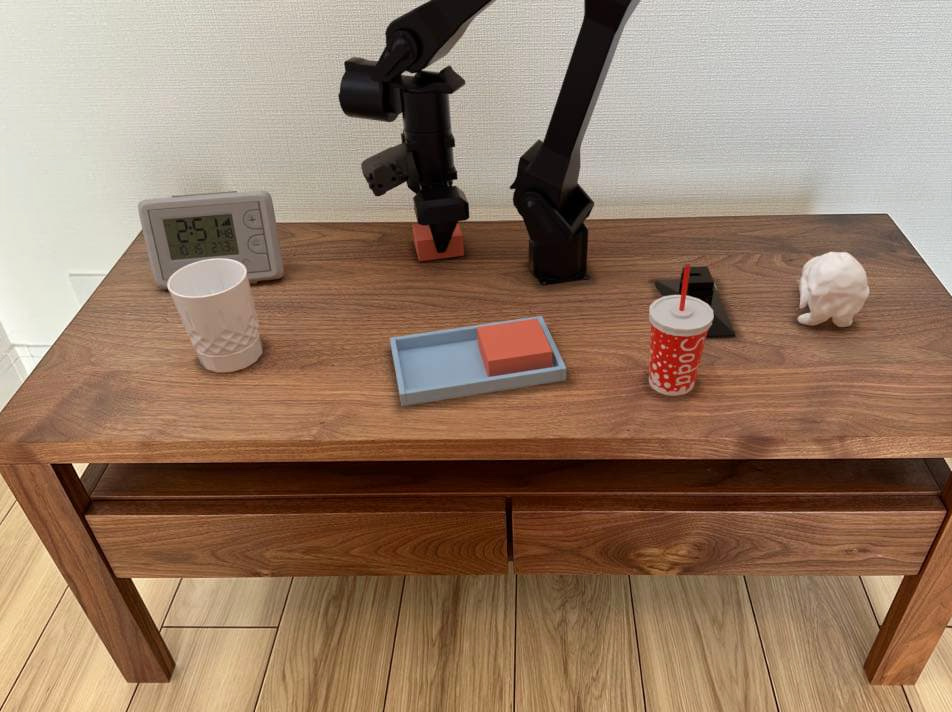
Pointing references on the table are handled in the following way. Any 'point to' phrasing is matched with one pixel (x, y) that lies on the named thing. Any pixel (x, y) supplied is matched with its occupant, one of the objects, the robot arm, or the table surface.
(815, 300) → the white lumpy figurine
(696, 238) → the table surface
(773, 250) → the table surface
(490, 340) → the pad
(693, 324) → the beverage cup
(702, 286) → the black stand
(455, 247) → the loose pad
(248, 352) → the white cup
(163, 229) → the digital clock
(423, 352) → the tray
